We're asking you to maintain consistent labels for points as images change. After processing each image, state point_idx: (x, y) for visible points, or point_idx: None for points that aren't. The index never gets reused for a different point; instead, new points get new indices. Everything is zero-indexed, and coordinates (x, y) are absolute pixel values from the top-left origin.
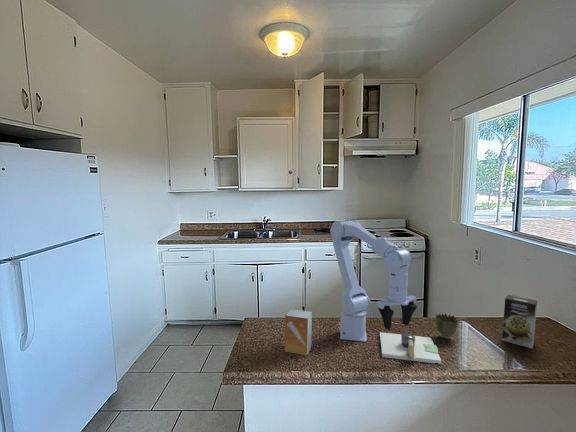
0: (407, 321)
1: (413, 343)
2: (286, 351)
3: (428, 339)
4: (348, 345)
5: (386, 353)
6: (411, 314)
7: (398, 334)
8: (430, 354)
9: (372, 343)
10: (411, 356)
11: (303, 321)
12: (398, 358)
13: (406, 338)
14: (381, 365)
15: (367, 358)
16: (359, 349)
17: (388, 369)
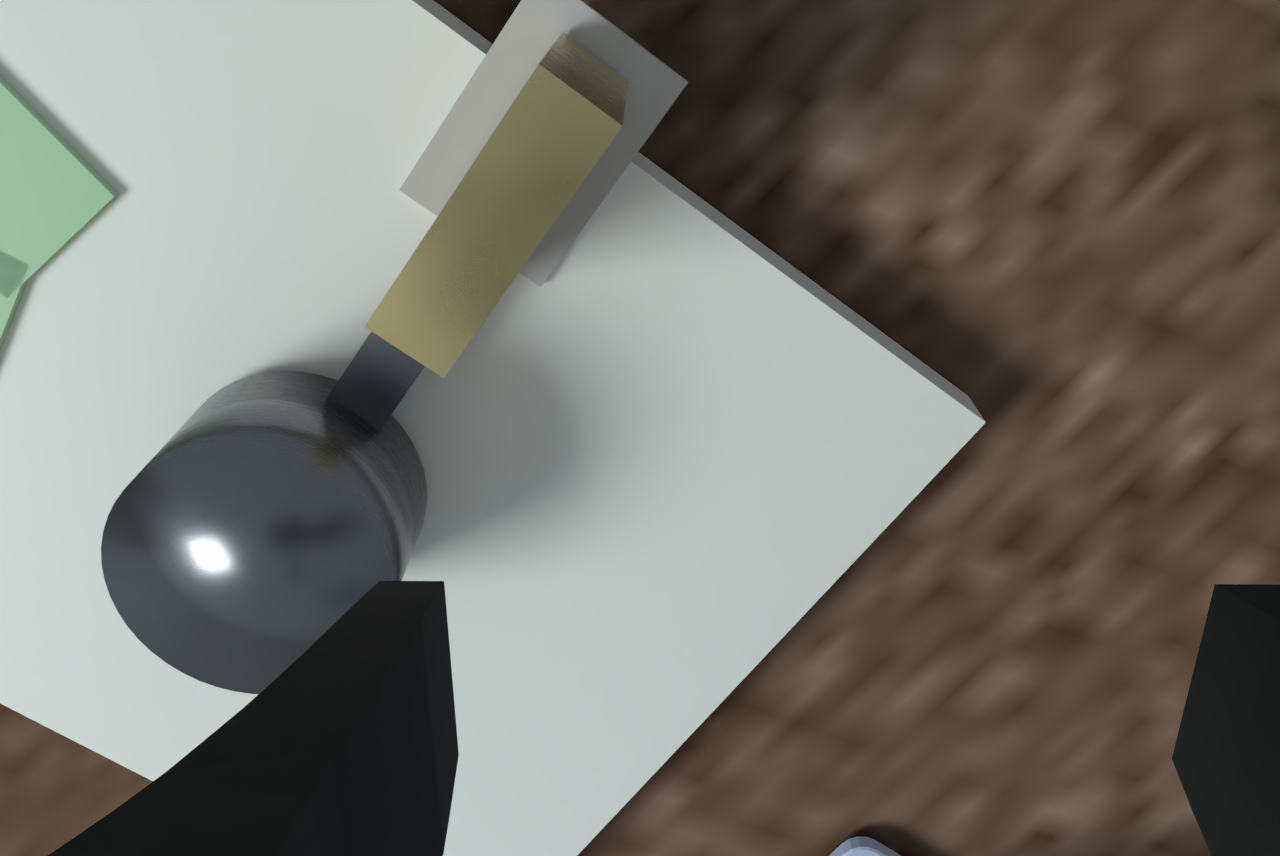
0: (407, 676)
1: (240, 402)
2: None
3: None
4: (1177, 843)
5: (916, 394)
6: (143, 849)
7: None
8: (91, 26)
9: (785, 770)
10: (600, 63)
11: None
12: (751, 237)
13: (361, 510)
14: (1204, 181)
15: (1230, 452)
16: (1119, 704)
17: (1203, 17)
